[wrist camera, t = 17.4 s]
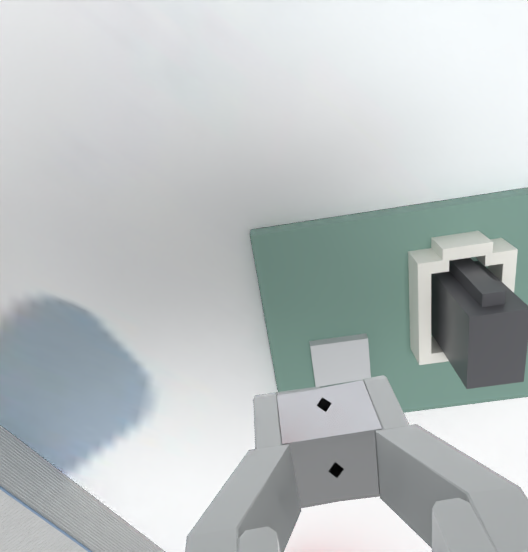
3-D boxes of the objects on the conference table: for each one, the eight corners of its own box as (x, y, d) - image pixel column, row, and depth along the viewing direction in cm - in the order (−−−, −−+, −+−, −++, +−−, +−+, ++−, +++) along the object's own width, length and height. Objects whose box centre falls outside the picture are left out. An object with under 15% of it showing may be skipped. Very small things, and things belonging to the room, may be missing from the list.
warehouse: (172, 553, 55) (160, 622, 49) (87, 597, 59) (65, 668, 52) (-32, 395, 45) (-84, 455, 38) (-120, 460, 49) (-182, 526, 42)
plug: (429, 329, 40) (466, 389, 33) (428, 256, 37) (470, 304, 30) (475, 323, 40) (523, 381, 33) (479, 249, 37) (532, 295, 30)
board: (283, 416, 46) (286, 447, 42) (250, 229, 38) (249, 247, 34) (528, 385, 45) (552, 414, 41) (550, 184, 36) (583, 197, 33)
